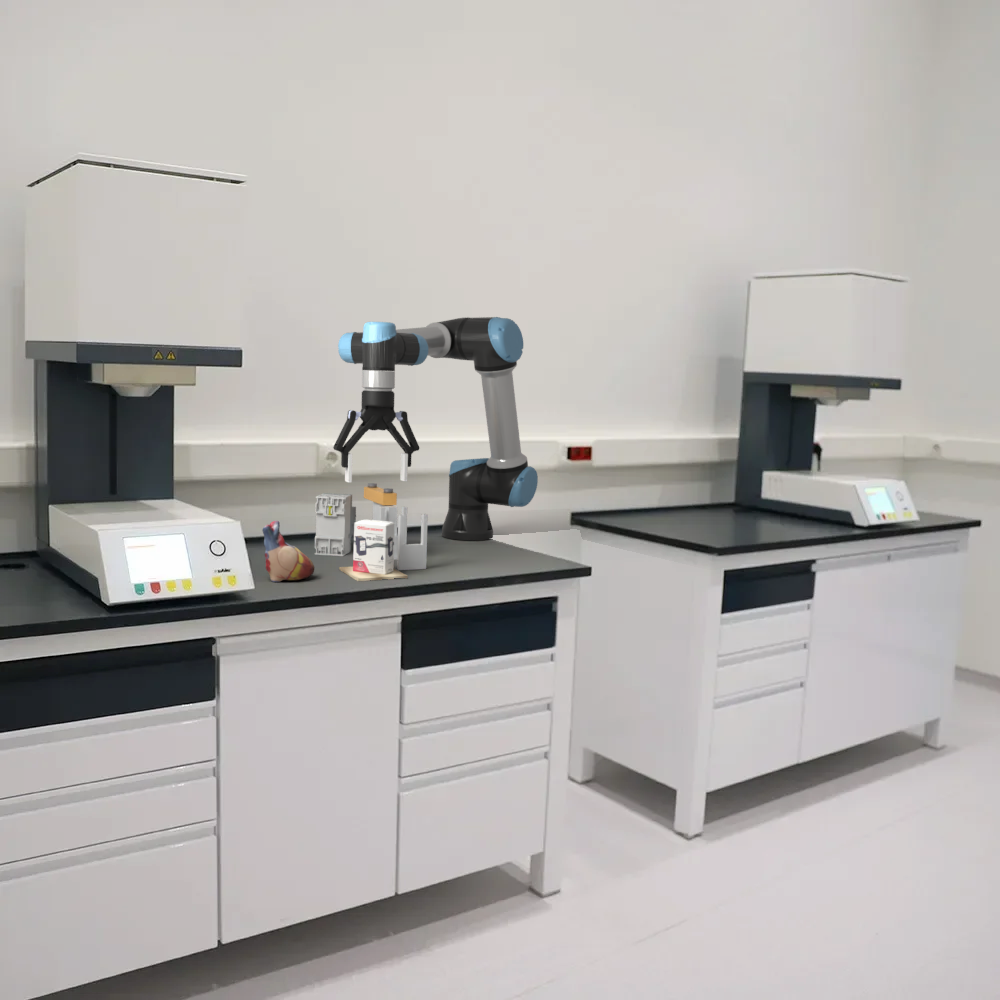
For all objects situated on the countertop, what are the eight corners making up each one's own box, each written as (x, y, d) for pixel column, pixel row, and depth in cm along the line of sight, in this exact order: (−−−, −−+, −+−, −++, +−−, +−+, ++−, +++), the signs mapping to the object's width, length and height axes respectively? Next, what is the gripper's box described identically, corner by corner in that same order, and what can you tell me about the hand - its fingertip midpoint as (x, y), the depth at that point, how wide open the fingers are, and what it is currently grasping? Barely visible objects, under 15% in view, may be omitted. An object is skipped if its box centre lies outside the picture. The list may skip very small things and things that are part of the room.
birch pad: (386, 567, 243) (386, 564, 243) (407, 578, 231) (407, 575, 230) (339, 569, 238) (339, 567, 238) (357, 581, 225) (357, 578, 225)
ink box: (351, 571, 233) (353, 521, 232) (361, 567, 238) (362, 518, 236) (385, 574, 230) (386, 524, 229) (394, 571, 235) (395, 521, 234)
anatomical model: (305, 589, 219) (283, 526, 215) (269, 594, 222) (247, 533, 218) (321, 570, 228) (301, 510, 224) (287, 576, 231) (266, 516, 226)
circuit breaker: (356, 547, 270) (357, 492, 268) (343, 556, 255) (344, 498, 254) (329, 545, 270) (330, 490, 268) (314, 554, 256) (315, 496, 254)
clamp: (388, 550, 266) (389, 500, 265) (426, 568, 243) (427, 514, 241) (363, 551, 263) (364, 501, 262) (399, 570, 240) (400, 515, 238)
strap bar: (376, 497, 269) (376, 482, 268) (396, 505, 255) (396, 489, 255) (363, 497, 267) (364, 483, 267) (383, 505, 254) (383, 489, 253)
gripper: (422, 390, 239) (420, 478, 241) (320, 388, 228) (319, 480, 230) (434, 391, 232) (432, 482, 235) (330, 389, 221) (329, 484, 224)
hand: (376, 481), depth 233 cm, fingers open, 13 cm apart
